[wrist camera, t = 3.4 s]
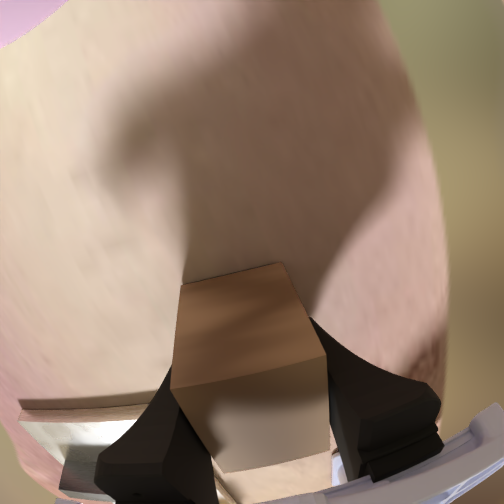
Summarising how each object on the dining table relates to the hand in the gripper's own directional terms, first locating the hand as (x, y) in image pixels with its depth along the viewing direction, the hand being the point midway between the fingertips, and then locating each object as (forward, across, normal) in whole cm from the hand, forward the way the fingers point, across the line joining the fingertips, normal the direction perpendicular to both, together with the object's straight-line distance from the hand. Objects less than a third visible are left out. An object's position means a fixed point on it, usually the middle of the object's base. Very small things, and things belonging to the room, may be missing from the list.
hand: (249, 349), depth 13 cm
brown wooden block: (+2, 0, 0) cm, 2 cm away
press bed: (+2, +12, +16) cm, 20 cm away
